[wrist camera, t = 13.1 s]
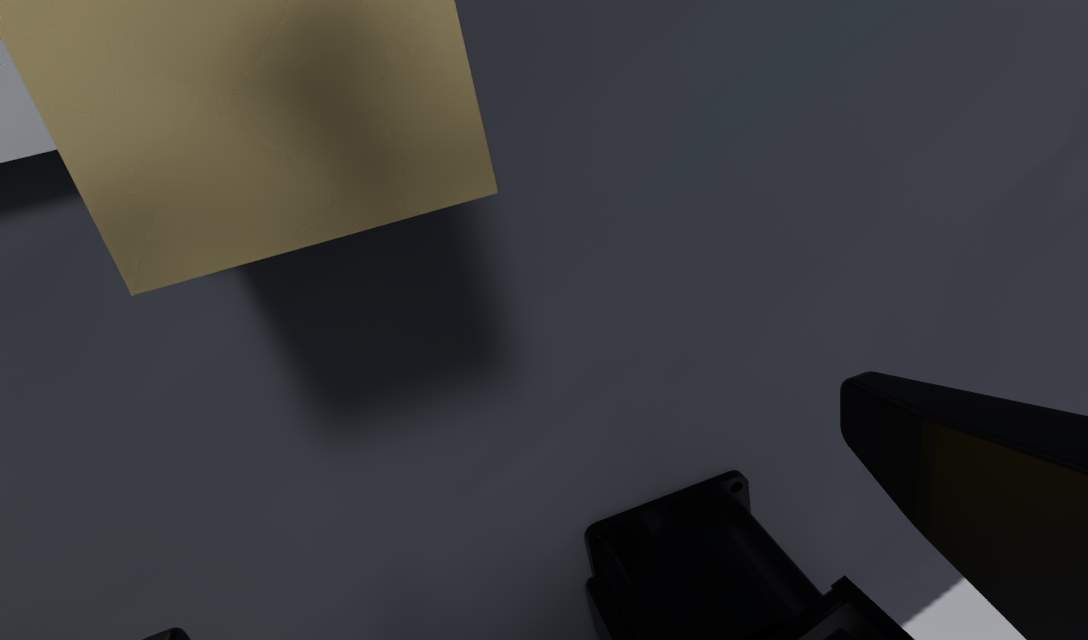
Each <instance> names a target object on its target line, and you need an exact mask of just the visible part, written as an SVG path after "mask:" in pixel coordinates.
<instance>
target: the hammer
mask: <svg viewBox="0 0 1088 640" xmlns="http://www.w3.org/2000/svg"><path fill="white" fill-rule="evenodd" d="M52 150H57V147H56V145H55V143H54V141H53V140H52V138H51V136H50V134H49V132H48V130H47V128H46V126H45V124H44V122H43V120H42V118H41V116H40V114H39V112H38V110H37V108H36V106H35V104H34V102H33V100H32V98H31V96H30V94H29V92H28V90H27V88H26V86H25V84H24V82H23V80H22V79H21V77H20V75H19V73H18V71H17V69H16V67H15V65H14V63H13V61H12V59H11V57H10V55H9V53H8V51H7V49H6V47H5V45H4V43H3V41H2V39H1V37H0V163H2V162H7V161H11V160H15V159H19V158H23V157H27V156H32V155H36V154H40V153H44V152H48V151H52Z"/></svg>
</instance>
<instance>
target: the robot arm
mask: <svg viewBox="0 0 1088 640" xmlns="http://www.w3.org/2000/svg"><path fill="white" fill-rule="evenodd" d="M840 427H841V432H842V435H843V438H844V440H845V441H846V443H847V445H848V446H849V447H850V448H851V450H852V451H853V452H854V453H855V455H856V456H857V457H858V458H859V459H860V461H861V462H862V463H863V464H864V466H865V467H866V468H867V469H868V471H869V472H870V473H871V474H872V475H873V477H874V478H875V479H876V480H877V482H878V483H879V484H880V485H881V486H882V488H883V489H884V490H885V491H886V493H887V494H888V495H889V496H890V497H891V499H892V500H893V501H894V502H895V504H896V505H897V506H898V507H899V509H900V510H901V511H902V512H903V513H904V515H905V516H906V517H907V518H908V519H909V520H910V521H911V523H912V524H913V525H914V526H915V527H916V528H917V529H918V530H919V531H920V533H921V534H922V535H923V536H924V537H925V538H926V539H927V540H928V541H929V542H930V543H931V544H932V545H933V546H934V547H935V548H936V549H937V550H938V551H939V552H940V553H941V554H942V555H943V556H944V557H945V558H946V559H947V560H948V561H949V562H950V563H951V564H952V565H953V566H954V567H955V568H956V569H957V570H958V571H959V572H960V573H961V574H962V575H963V576H964V577H965V578H966V579H967V580H968V581H969V582H970V583H971V584H972V585H973V586H974V587H975V588H976V589H977V590H978V591H979V592H980V593H981V594H982V595H983V596H984V597H985V598H986V599H987V600H988V601H989V602H990V603H991V604H992V605H993V606H994V607H995V608H996V609H997V610H998V611H999V612H1000V613H1001V614H1002V615H1003V616H1004V617H1005V618H1006V619H1007V620H1008V621H1009V622H1010V623H1011V624H1012V625H1013V627H1015V629H1017V631H1018V632H1019V633H1021V634H1022V636H1024V638H1025V639H1027V640H1088V416H1085V415H1080V414H1075V413H1071V412H1066V411H1061V410H1056V409H1051V408H1046V407H1042V406H1037V405H1032V404H1027V403H1022V402H1017V401H1013V400H1008V399H1003V398H998V397H993V396H988V395H984V394H979V393H974V392H969V391H964V390H960V389H955V388H950V387H945V386H940V385H935V384H931V383H926V382H921V381H916V380H911V379H906V378H902V377H897V376H892V375H887V374H882V373H878V372H872V371H870V372H864V373H862V374H859V375H856V376H853V377H851V378H848V379H846V380H845V381H844V382H843V383H842V385H841V388H840ZM734 483H735V484H734ZM733 484H734V485H733ZM732 485H733V486H732ZM602 534H603V535H602ZM599 535H602V536H601V537H599V538H597V537H598V536H599ZM585 541H586V546H587V550H588V554H589V559H590V563H591V568H592V572H593V577H591V578H589V579H588V581H587V584H586V589H587V593H588V597H589V601H590V606H591V610H592V614H593V619H594V623H595V627H596V630H597V632H598V634H599V636H600V639H601V640H914V639H913V638H912V637H911V636H910V635H909V634H908V633H907V632H906V631H905V630H903V629H902V628H901V627H900V626H899V625H898V624H897V623H896V622H895V621H894V620H893V619H892V618H890V617H889V616H888V615H887V614H886V613H885V612H884V611H883V610H882V609H881V608H880V607H878V606H877V605H876V604H875V603H874V602H873V601H872V600H871V599H870V598H869V597H868V596H867V595H865V594H864V593H863V592H862V591H861V590H860V589H859V588H858V587H857V586H856V585H855V584H853V583H852V582H851V581H850V580H849V579H848V578H847V577H846V576H843V577H842V578H840V579H839V580H838V581H836V582H835V583H834V584H832V585H831V587H832V589H831V590H830V591H828V592H827V593H826V594H825V595H822V593H821V592H820V591H819V590H818V589H817V588H816V587H815V586H814V584H813V583H812V582H811V581H810V580H809V579H808V578H807V577H806V575H805V574H804V573H803V572H802V571H801V570H800V569H799V568H798V566H797V565H796V564H795V563H794V562H793V561H792V560H791V558H790V557H789V556H788V555H787V554H786V553H785V552H784V551H783V549H782V548H781V547H780V546H779V545H778V544H777V543H776V542H775V540H774V539H773V538H772V537H771V536H770V535H769V534H768V533H767V531H766V530H765V529H764V528H763V527H762V526H761V525H760V523H759V522H758V521H757V520H756V519H755V518H754V517H753V516H752V514H751V511H750V498H749V486H748V481H747V479H746V478H745V477H744V476H743V475H742V473H740V472H739V471H736V470H733V471H729V472H726V473H724V474H721V475H718V476H716V477H713V478H711V479H708V480H705V481H703V482H700V483H698V484H695V485H692V486H690V487H687V488H684V489H682V490H679V491H677V492H674V493H671V494H669V495H666V496H664V497H661V498H658V499H656V500H653V501H651V502H648V503H645V504H643V505H640V506H637V507H635V508H632V509H630V510H627V511H624V512H622V513H619V514H617V515H614V516H611V517H609V518H606V519H603V520H601V521H598V522H596V523H594V524H592V525H590V526H589V527H588V528H587V530H586V532H585ZM143 640H190V638H189V636H188V635H187V634H186V632H185V631H184V630H182V629H181V628H171V629H168V630H165V631H163V632H160V633H157V634H154V635H152V636H149V637H147V638H145V639H143Z"/></svg>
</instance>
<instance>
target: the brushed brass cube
mask: <svg viewBox="0 0 1088 640" xmlns="http://www.w3.org/2000/svg"><path fill="white" fill-rule="evenodd" d="M0 37H1V39H2V41H3V43H4V45H5V47H6V49H7V51H8V53H9V55H10V57H11V59H12V61H13V63H14V65H15V67H16V69H17V71H18V73H19V75H20V77H21V79H22V80H23V82H24V84H25V86H26V88H27V90H28V92H29V94H30V96H31V98H32V100H33V102H34V104H35V106H36V108H37V110H38V112H39V114H40V116H41V118H42V120H43V122H44V124H45V126H46V128H47V130H48V132H49V134H50V136H51V138H52V140H53V141H54V143H55V145H56V147H57V149H58V151H59V153H60V155H61V157H62V159H63V161H64V163H65V165H66V167H67V169H68V171H69V173H70V175H71V177H72V179H73V181H74V183H75V185H76V187H77V189H78V191H79V193H80V195H81V197H82V199H83V200H84V202H85V204H86V206H87V208H88V210H89V212H90V214H91V216H92V218H93V220H94V222H95V224H96V226H97V228H98V230H99V232H100V234H101V236H102V238H103V240H104V242H105V244H106V246H107V248H108V250H109V252H110V254H111V256H112V258H113V259H114V261H115V263H116V265H117V267H118V269H119V271H120V273H121V275H122V277H123V279H124V281H125V283H126V285H127V287H128V289H129V291H130V293H131V295H136V294H140V293H143V292H147V291H150V290H154V289H157V288H161V287H165V286H168V285H172V284H175V283H179V282H182V281H186V280H189V279H193V278H197V277H200V276H204V275H207V274H211V273H214V272H218V271H222V270H225V269H229V268H232V267H236V266H239V265H243V264H246V263H250V262H254V261H257V260H261V259H264V258H268V257H271V256H275V255H278V254H282V253H286V252H289V251H293V250H296V249H300V248H303V247H307V246H311V245H314V244H318V243H321V242H325V241H328V240H332V239H335V238H339V237H343V236H346V235H350V234H353V233H357V232H360V231H364V230H368V229H371V228H375V227H378V226H382V225H385V224H389V223H392V222H396V221H400V220H403V219H407V218H410V217H414V216H417V215H421V214H425V213H428V212H432V211H435V210H439V209H442V208H446V207H449V206H453V205H457V204H460V203H464V202H467V201H471V200H474V199H478V198H482V197H485V196H489V195H492V194H496V193H498V190H497V186H496V181H495V177H494V172H493V168H492V164H491V159H490V155H489V151H488V146H487V142H486V137H485V133H484V129H483V124H482V120H481V116H480V111H479V107H478V102H477V98H476V94H475V89H474V85H473V80H472V76H471V72H470V67H469V63H468V59H467V54H466V50H465V45H464V41H463V37H462V32H461V28H460V23H459V19H458V15H457V10H456V6H455V2H454V0H0Z"/></svg>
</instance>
